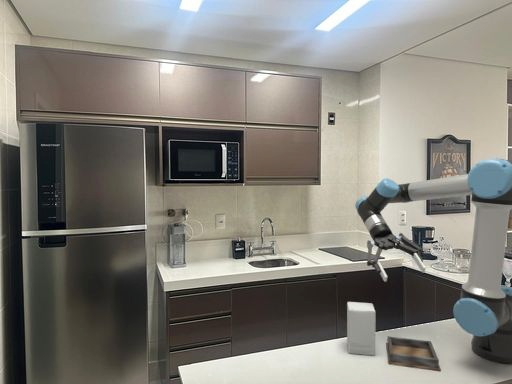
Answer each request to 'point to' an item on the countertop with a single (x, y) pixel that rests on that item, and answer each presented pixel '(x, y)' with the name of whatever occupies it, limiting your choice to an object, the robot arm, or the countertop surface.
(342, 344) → the countertop surface
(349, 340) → the supplement box
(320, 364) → the countertop surface
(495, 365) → the countertop surface
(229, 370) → the countertop surface
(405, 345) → the gray rimmed tray
